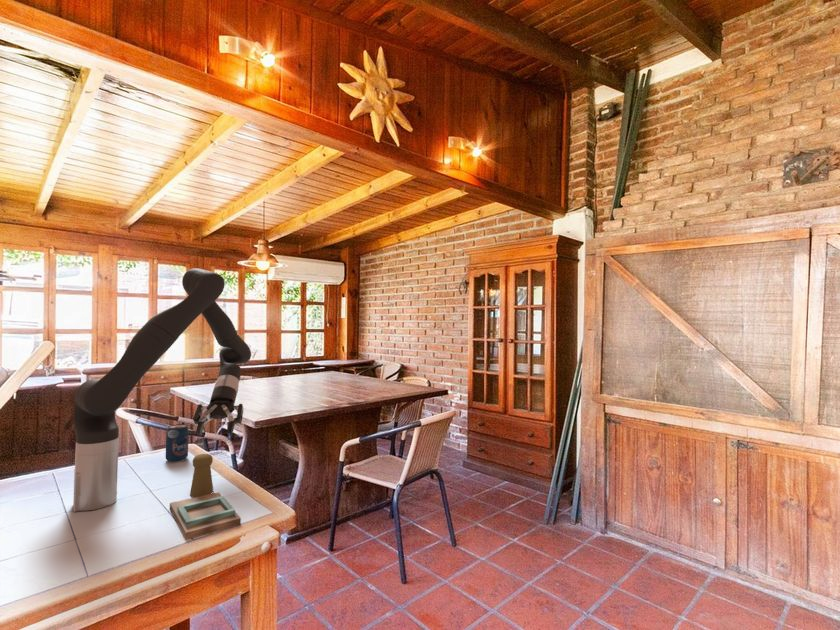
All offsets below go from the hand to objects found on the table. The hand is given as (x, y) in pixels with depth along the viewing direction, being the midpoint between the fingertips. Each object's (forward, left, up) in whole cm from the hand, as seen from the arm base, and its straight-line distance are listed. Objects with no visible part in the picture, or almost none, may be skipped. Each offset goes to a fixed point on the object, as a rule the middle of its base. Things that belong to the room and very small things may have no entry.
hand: (213, 434), depth 133 cm
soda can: (-5, +28, -14) cm, 32 cm away
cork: (-5, -9, -14) cm, 18 cm away
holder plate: (-8, -25, -14) cm, 30 cm away
